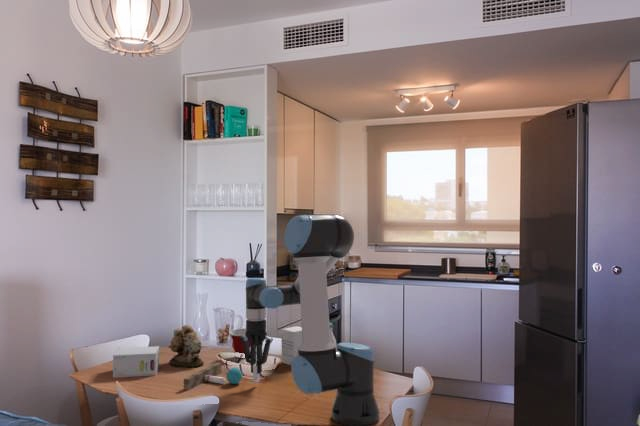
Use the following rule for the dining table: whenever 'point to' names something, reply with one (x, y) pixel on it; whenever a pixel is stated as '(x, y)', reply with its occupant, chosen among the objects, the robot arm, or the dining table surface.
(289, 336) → the supplement box
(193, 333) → the brown lumpy figure
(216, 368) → the stopper wall
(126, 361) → the supplement box
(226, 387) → the dining table surface
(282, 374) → the dining table surface
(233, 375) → the ball
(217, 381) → the pin
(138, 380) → the dining table surface
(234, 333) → the plastic cup
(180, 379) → the dining table surface
